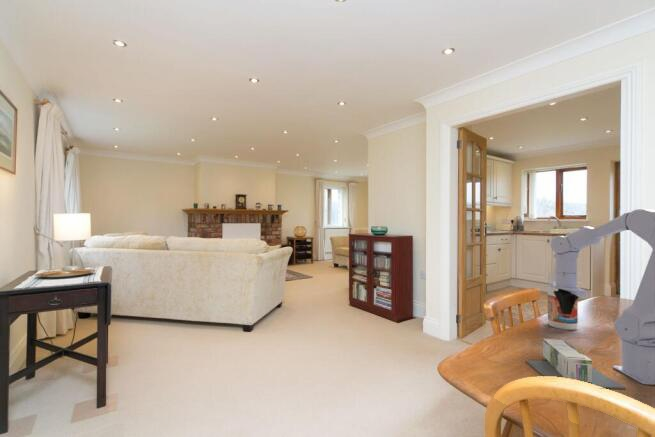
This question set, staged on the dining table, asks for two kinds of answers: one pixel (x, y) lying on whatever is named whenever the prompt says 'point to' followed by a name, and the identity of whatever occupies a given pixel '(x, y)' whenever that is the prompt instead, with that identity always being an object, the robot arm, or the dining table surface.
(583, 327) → the dining table surface
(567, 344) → the syrup box
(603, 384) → the slate mat
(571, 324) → the fruit juice
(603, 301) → the dining table surface
